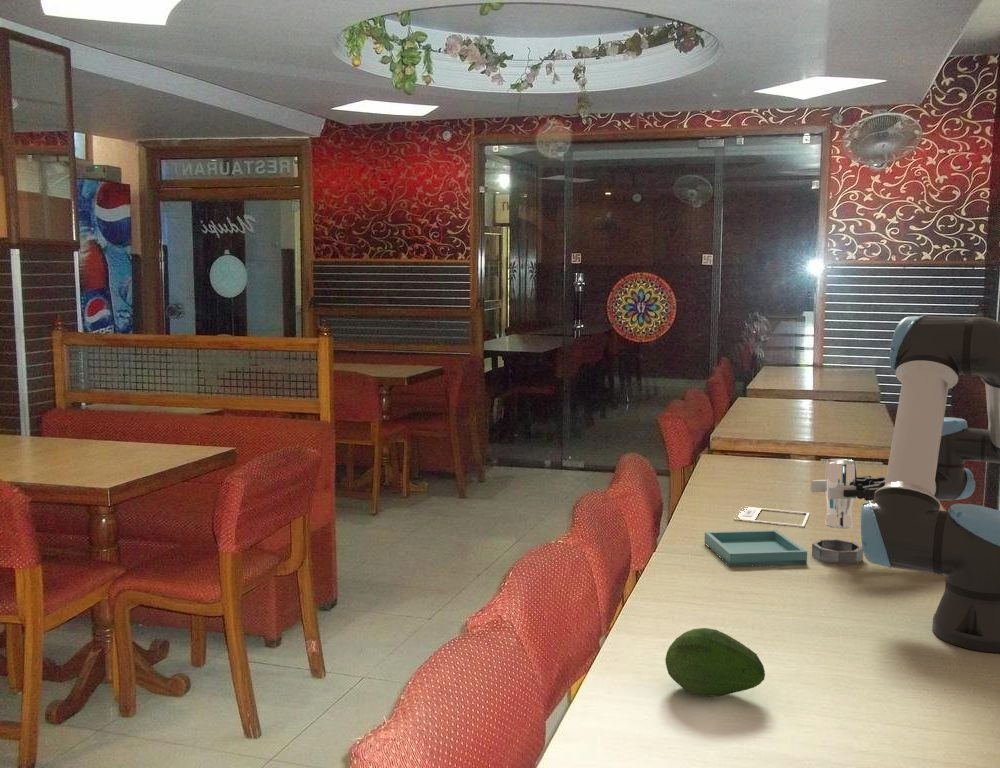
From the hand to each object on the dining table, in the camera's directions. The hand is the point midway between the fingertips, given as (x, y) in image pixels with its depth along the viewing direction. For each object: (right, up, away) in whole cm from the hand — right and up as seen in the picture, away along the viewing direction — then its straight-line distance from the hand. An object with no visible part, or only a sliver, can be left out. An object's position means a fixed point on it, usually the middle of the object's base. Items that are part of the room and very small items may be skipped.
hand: (820, 489), depth 213 cm
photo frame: (0, -13, +39) cm, 41 cm away
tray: (-14, -16, +6) cm, 22 cm away
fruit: (-40, -24, -67) cm, 82 cm away
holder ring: (+5, -16, +3) cm, 17 cm away
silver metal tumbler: (+5, -9, +2) cm, 10 cm away
